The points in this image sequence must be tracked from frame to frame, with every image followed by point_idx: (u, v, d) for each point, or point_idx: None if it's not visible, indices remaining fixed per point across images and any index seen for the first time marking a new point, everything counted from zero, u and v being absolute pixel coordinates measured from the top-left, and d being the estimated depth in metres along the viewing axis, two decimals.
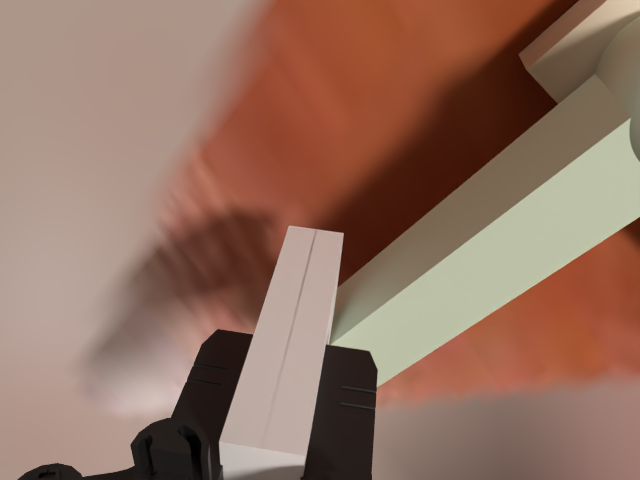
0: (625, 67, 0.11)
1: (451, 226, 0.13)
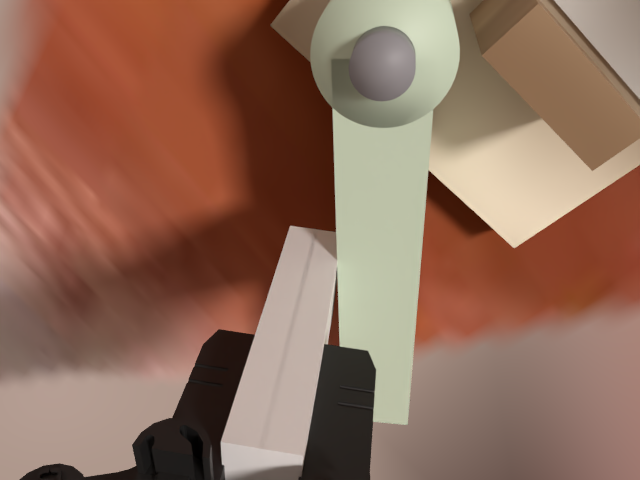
0: None
1: None
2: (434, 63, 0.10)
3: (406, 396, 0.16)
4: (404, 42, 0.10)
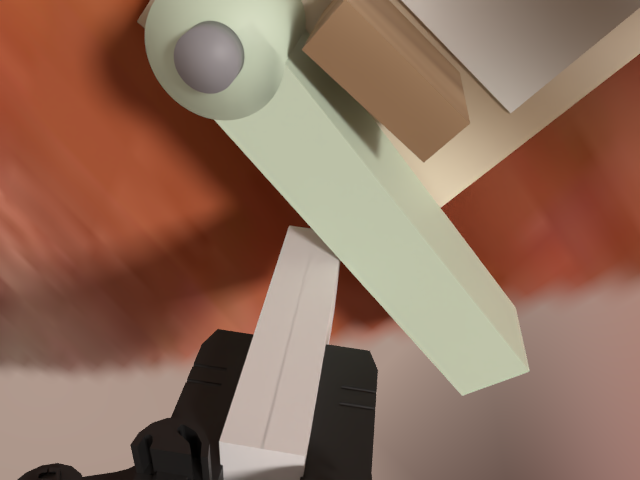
0: None
1: None
2: (252, 26, 0.10)
3: (501, 342, 0.14)
4: (202, 28, 0.10)
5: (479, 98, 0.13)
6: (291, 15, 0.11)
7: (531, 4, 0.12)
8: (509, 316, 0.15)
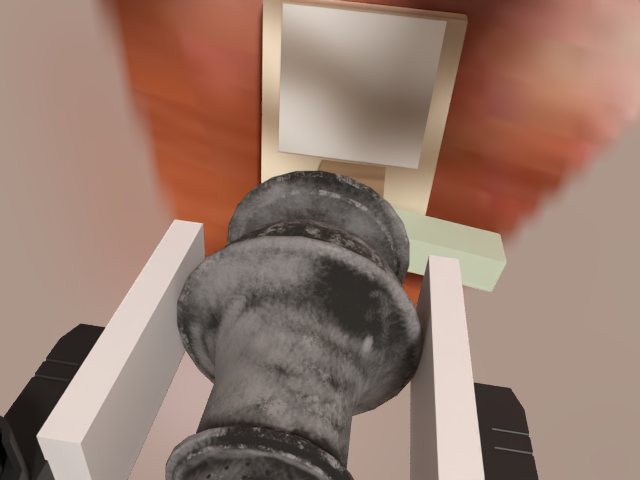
0: None
1: None
2: None
3: (480, 257, 0.27)
4: None
5: (401, 171, 0.28)
6: None
7: (390, 130, 0.27)
8: (490, 242, 0.28)
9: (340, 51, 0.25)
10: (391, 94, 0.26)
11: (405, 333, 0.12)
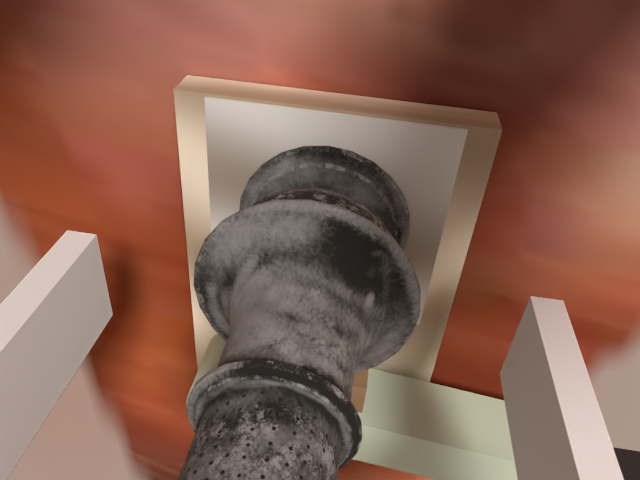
0: None
1: None
2: None
3: (513, 463, 0.18)
4: None
5: None
6: None
7: None
8: None
9: None
10: None
11: (405, 291, 0.13)
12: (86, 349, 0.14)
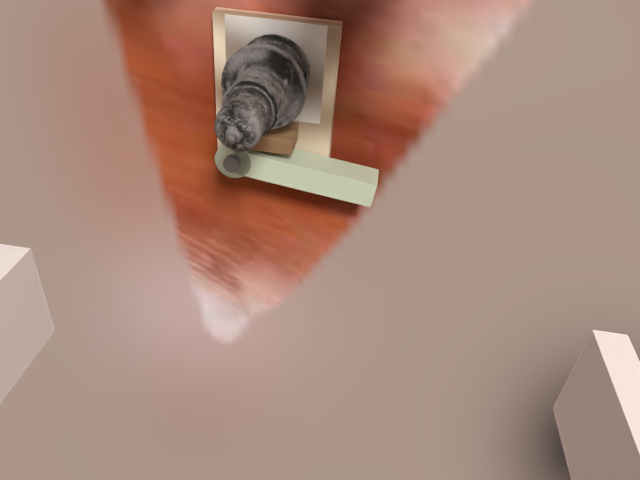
0: None
1: None
2: None
3: (359, 182, 0.41)
4: (225, 159, 0.41)
5: (309, 125, 0.42)
6: None
7: None
8: (369, 173, 0.42)
9: None
10: None
11: (299, 81, 0.36)
12: (21, 368, 0.13)
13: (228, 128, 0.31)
